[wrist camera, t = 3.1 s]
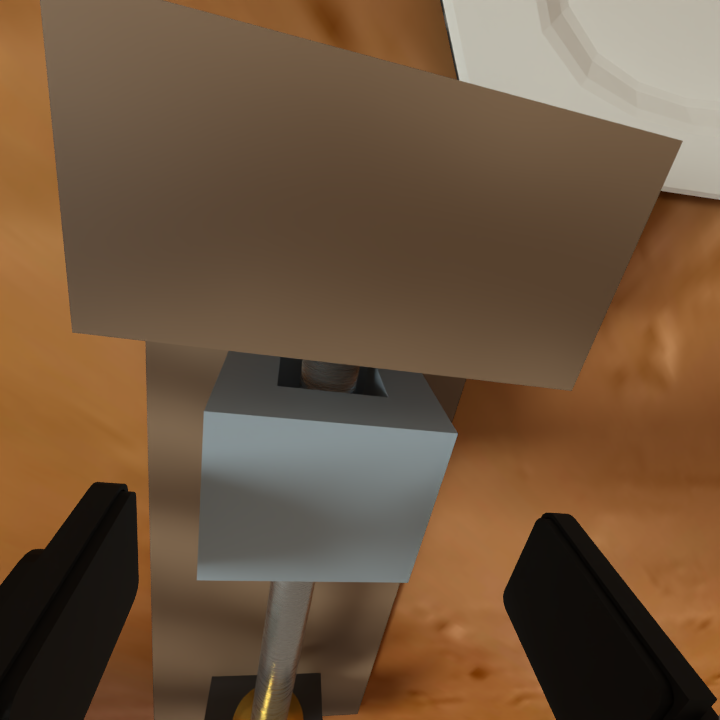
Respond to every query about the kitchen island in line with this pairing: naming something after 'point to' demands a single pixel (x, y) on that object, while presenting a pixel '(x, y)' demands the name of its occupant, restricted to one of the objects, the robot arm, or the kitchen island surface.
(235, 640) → the slide base
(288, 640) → the metal rod
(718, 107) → the plate
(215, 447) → the grey sliding block
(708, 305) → the kitchen island surface
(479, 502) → the kitchen island surface
